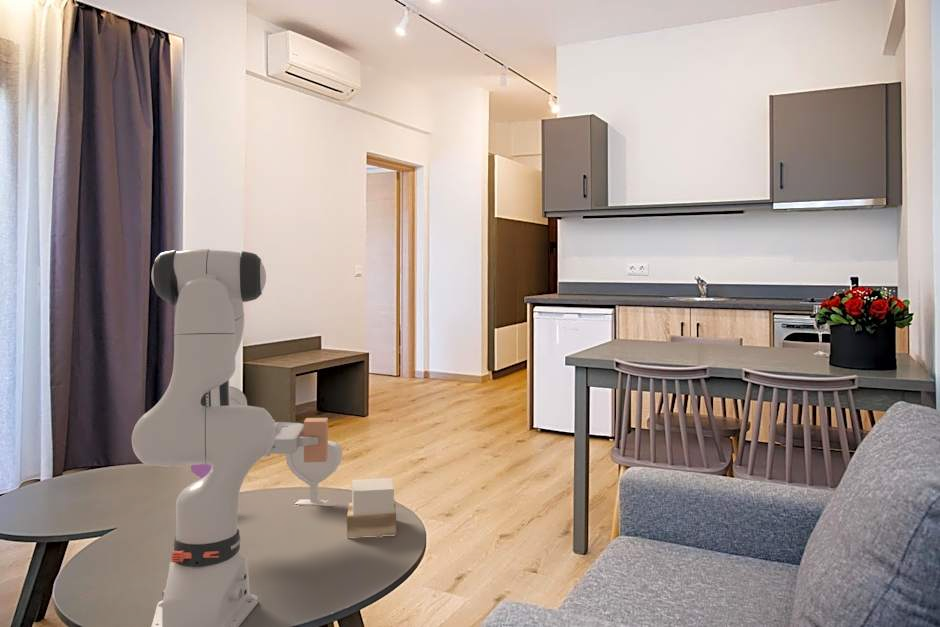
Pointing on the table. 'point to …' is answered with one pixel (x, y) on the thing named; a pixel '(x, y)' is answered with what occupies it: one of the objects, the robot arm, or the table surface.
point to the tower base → (370, 523)
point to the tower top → (372, 496)
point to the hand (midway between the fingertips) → (319, 437)
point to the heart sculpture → (314, 469)
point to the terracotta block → (321, 430)
